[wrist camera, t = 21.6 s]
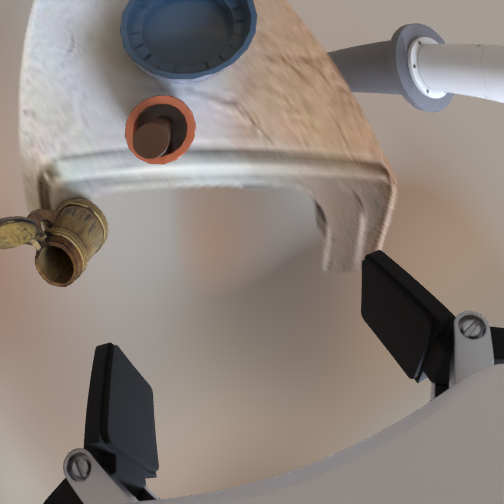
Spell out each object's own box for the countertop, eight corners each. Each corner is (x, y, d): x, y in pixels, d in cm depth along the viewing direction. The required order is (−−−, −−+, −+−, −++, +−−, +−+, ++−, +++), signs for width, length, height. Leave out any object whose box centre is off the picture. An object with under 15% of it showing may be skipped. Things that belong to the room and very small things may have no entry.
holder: (182, 92, 33) (185, 86, 23) (195, 139, 36) (203, 151, 27) (132, 109, 32) (116, 110, 23) (147, 156, 35) (137, 173, 26)
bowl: (230, -23, 25) (240, -40, 20) (256, 68, 33) (269, 62, 28) (118, 4, 24) (110, -11, 19) (143, 99, 32) (137, 97, 27)
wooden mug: (74, 159, 33) (13, 200, 17) (118, 238, 40) (94, 319, 24) (30, 190, 32) (-36, 246, 17) (74, 262, 39) (39, 344, 24)
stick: (169, 113, 33) (163, 117, 16) (174, 130, 34) (173, 151, 17) (151, 119, 33) (127, 130, 16) (157, 136, 34) (138, 164, 17)
